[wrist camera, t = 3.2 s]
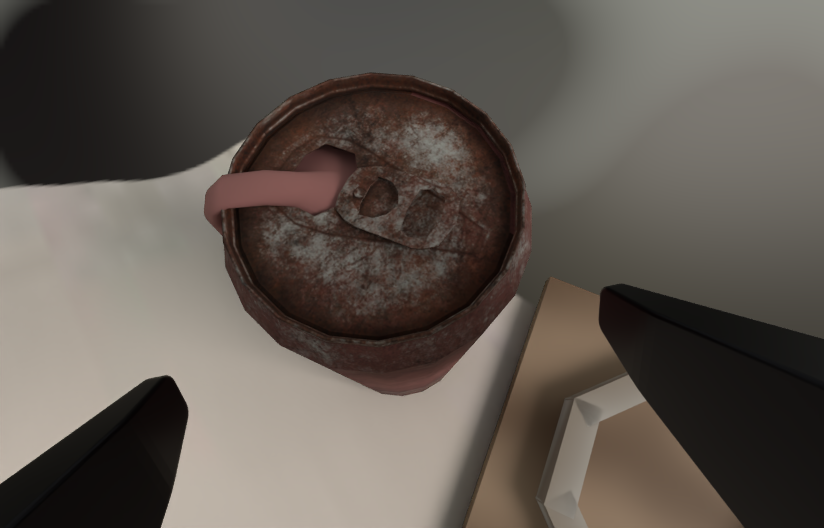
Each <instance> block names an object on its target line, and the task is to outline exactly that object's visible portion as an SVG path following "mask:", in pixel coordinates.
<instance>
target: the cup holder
mask: <svg viewBox="0 0 824 528" xmlns="http://www.w3.org/2000/svg"><path fill="white" fill-rule="evenodd" d="M599 303H600V296H599V295H597V294H594V293H592V292H589V291H587V290H584V289H581V288H579V287H576V286H574V285H571V284H568V283H566V282H563V281H561V280H559V279H556V278H553V277H550V278H549V279H548V280H547V281H546V282H545V285H544V288H543V291H542V294H541V297H540V300H539V303H538V306H537V309H536V312H535V315H534V317H533V320H532V323H531V326H530V329H529V332H528V335H527V338H526V341H525V344H524V347H523V350H522V353H521V356H520V359H519V361H518V364H517V367H516V370H515V373H514V376H513V379H512V382H511V385H510V388H509V391H508V394H507V397H506V400H505V403H504V406H503V408H502V411H501V414H500V417H499V420H498V423H497V426H496V429H495V432H494V435H493V438H492V441H491V444H490V447H489V450H488V453H487V455H486V458H485V461H484V464H483V467H482V470H481V473H480V476H479V479H478V482H477V485H476V488H475V491H474V494H473V497H472V500H471V502H470V505H469V508H468V511H467V514H466V517H465V520H464V523H463V526H462V528H744V527H743V525H742V524H741V523H740V522H739V520H738V519H737V518H736V516H735V515H734V514H733V512H732V511H731V510H730V509H729V507H728V506H727V505H726V503H725V502H724V501H723V499H722V498H721V497H720V496H719V494H718V493H717V492H716V490H715V489H714V488H713V487H712V485H711V484H710V483H709V481H708V480H707V479H706V477H705V476H704V475H703V474H702V472H701V471H700V470H699V468H698V467H697V466H696V464H695V463H694V462H693V461H692V459H691V458H690V457H689V455H688V454H687V453H686V452H685V450H684V449H683V448H682V446H681V445H680V444H679V442H678V441H677V440H676V439H675V437H674V436H673V435H672V433H671V432H670V431H669V429H668V428H667V427H666V426H665V424H664V423H663V422H662V420H661V419H660V418H659V417H658V415H657V414H656V413H655V411H654V410H653V409H652V407H651V406H650V405H649V404H648V402H647V401H646V400H645V398H644V397H643V396H642V394H641V393H640V392H639V390H638V389H637V387H636V386H635V384H634V383H633V381H632V380H631V378H630V376H629V375H628V373H627V372H626V370H625V368H624V367H623V365H622V363H621V362H620V360H619V359H618V357H617V355H616V354H615V352H614V350H613V349H612V347H611V346H610V344H609V342H608V341H607V339H606V337H605V336H604V334H603V333H602V331H601V329H600V326H599V321H598V317H599Z"/></svg>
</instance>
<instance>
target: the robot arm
mask: <svg viewBox="0 0 824 528" xmlns="http://www.w3.org/2000/svg"><path fill="white" fill-rule="evenodd" d="M598 321H599V326H600V329H601V331H602V333H603V334H604V336H605V337H606V339H607V341H608V342H609V344H610V346H611V347H612V349H613V350H614V352H615V354H616V355H617V357H618V359H619V360H620V362H621V363H622V365H623V367H624V368H625V370H626V372H627V373H628V375H629V376H630V378H631V380H632V381H633V383H634V384H635V386H636V387H637V389H638V390H639V392H640V393H641V394H642V396H643V397H644V398H645V400H646V401H647V402H648V404H649V405H650V406H651V407H652V409H653V410H654V411H655V413H656V414H657V415H658V417H659V418H660V419H661V420H662V422H663V423H664V424H665V426H666V427H667V428H668V429H669V431H670V432H671V433H672V435H673V436H674V437H675V439H676V440H677V441H678V442H679V444H680V445H681V446H682V448H683V449H684V450H685V452H686V453H687V454H688V455H689V457H690V458H691V459H692V461H693V462H694V463H695V464H696V466H697V467H698V468H699V470H700V471H701V472H702V474H703V475H704V476H705V477H706V479H707V480H708V481H709V483H710V484H711V485H712V487H713V488H714V489H715V490H716V492H717V493H718V494H719V496H720V497H721V498H722V499H723V501H724V502H725V503H726V505H727V506H728V507H729V509H730V510H731V511H732V512H733V514H734V515H735V516H736V518H737V519H738V520H739V522H740V523H741V524H742V525H743V527H744V528H824V339H822V338H818V337H814V336H811V335H807V334H804V333H800V332H797V331H793V330H789V329H786V328H782V327H778V326H775V325H771V324H767V323H764V322H760V321H756V320H753V319H749V318H746V317H742V316H738V315H735V314H731V313H728V312H724V311H720V310H716V309H713V308H709V307H706V306H702V305H698V304H695V303H691V302H688V301H684V300H680V299H677V298H673V297H669V296H666V295H662V294H659V293H655V292H651V291H648V290H644V289H640V288H637V287H633V286H630V285H625V284H616V285H611V286H606V287H604V288H603V289H602V290H601V293H600V303H599V317H598ZM187 421H188V407H187V404H186V402H185V400H184V398H183V396H182V394H181V392H180V390H179V388H178V386H177V385H176V383H175V381H174V379H173V378H172V377H170V376H167V375H165V376H160V377H155V378H150V379H147V380H145V381H143V382H142V383H140V384H139V385H138V386H136V387H135V388H133V389H132V390H131V391H129V392H128V393H127V394H125V395H124V396H122V397H121V398H120V399H118V400H117V401H115V402H114V403H113V404H111V405H110V406H108V407H107V408H106V409H104V410H103V411H101V412H100V413H99V414H97V415H96V416H94V417H93V418H92V419H90V420H89V421H87V422H86V423H85V424H83V425H82V426H81V427H79V428H78V429H76V430H75V431H74V432H72V433H71V434H69V435H68V436H67V437H65V438H64V439H62V440H61V441H60V442H58V443H57V444H55V445H54V446H53V447H51V448H50V449H48V450H47V451H46V452H44V453H43V454H41V455H40V456H39V457H37V458H36V459H35V460H33V461H32V462H30V463H29V464H28V465H26V466H25V467H23V468H22V469H21V470H19V471H18V472H16V473H15V474H14V475H12V476H11V477H9V478H8V479H7V480H5V481H4V482H2V483H1V484H0V528H161V525H162V522H163V519H164V516H165V513H166V510H167V507H168V503H169V500H170V497H171V493H172V490H173V486H174V482H175V477H176V473H177V468H178V463H179V458H180V454H181V449H182V444H183V439H184V435H185V430H186V425H187Z"/></svg>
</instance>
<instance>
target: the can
mask: <svg viewBox="0 0 824 528" xmlns="http://www.w3.org/2000/svg"><path fill="white" fill-rule="evenodd" d="M525 187H526V186H525V182H524V179H523V176H522V173H521V170H520V167H519V164H518V162H517V159H516V156H515V153H514V150H513V147H512V145H511V144H510V142H509V141H508V140H507V138H506V137H505V136H504V135H503V133H502V132H501V131H500V130H499V128H498V127H497V126H496V125H495V123H494V122H493V121H492V119H491V118H490V117H489V116H488V114H487V113H486V112H484V111H483V110H481V109H480V108H478V107H477V106H476V105H474V104H473V103H471V102H470V101H468V100H467V99H466V98H464V97H463V96H461V95H460V94H458V93H457V92H455V91H454V90H452V89H450V88H447V87H444V86H441V85H438V84H435V83H432V82H430V81H426V80H424V79H421V78H418V77H415V76H409V75H396V74H383V73H365V74H359V75H353V76H347V77H341V78H335V79H329V80H327V81H325V82H322V83H320V84H318V85H316V86H313V87H311V88H309V89H307V90H304V91H302V92H300V93H298V94H295V95H293V96H291V97H289V98H288V99H287V100H286V101H284V102H283V103H282V104H280V105H279V106H278V107H277V108H275V109H274V110H273V111H272V112H270V113H269V114H268V115H267V116H266V117H264V118H263V119H262V120H261V121H259V122H258V123H257V124H256V126H255V127H254V128H253V130H252V131H251V133H250V134H249V135H248V137H247V138H246V140H245V141H244V143H243V144H242V146H241V147H240V148H239V150H238V151H237V153H236V154H235V156H234V157H233V159H232V162H231V165H230V169H229V172H228V174H226V175H222V176H221V177H220V178H219V179H218V180H217V181H216V182H215V183H214V184H213V185H212V186H211V187H210V188H209V189H208V190H207V192H206V195H205V206H204V215H205V217H206V219H207V220H208V221H209V222H210V223H211V224H212V225H213V227H214V228H215V229H216V230H217V231H218V232H219V233H220V234H221V235H222V236H223V244H224V251H225V267H226V269H227V271H228V274H229V276H230V278H231V280H232V283H233V285H234V287H235V289H236V291H237V294H238V296H239V298H240V300H241V303H242V305H243V307H244V309H245V311H246V312H247V313H248V314H249V315H250V316H251V317H252V318H253V319H254V320H255V321H256V322H257V323H258V324H259V325H260V326H261V327H262V328H263V329H264V330H265V331H266V332H267V333H268V334H269V335H270V336H271V337H272V338H273V339H274V340H275V341H276V342H277V343H278V344H279V345H281V346H283V347H285V348H287V349H289V350H291V351H293V352H295V353H297V354H299V355H302V356H304V357H306V358H308V359H310V360H312V361H314V362H316V363H318V364H320V365H322V366H324V367H327V368H329V369H331V370H333V371H335V372H337V373H339V374H341V375H343V376H345V377H347V378H350V379H352V380H354V381H356V382H358V383H360V384H362V385H364V386H366V387H368V388H371V389H373V390H375V391H377V392H379V393H381V394H389V395H399V396H404V395H408V394H413V393H417V392H422V391H424V390H426V389H427V388H429V387H430V386H432V385H434V384H435V383H437V382H439V381H440V380H441V379H442V378H443V377H444V376H445V375H446V374H447V373H448V371H449V370H450V369H451V368H452V367H453V366H454V365H455V364H456V363H457V362H458V360H459V359H460V358H461V357H462V356H463V355H464V354H465V353H466V352H467V350H468V349H469V348H470V347H471V346H472V345H473V344H474V343H475V342H476V341H477V339H478V338H479V337H480V336H481V335H482V334H483V333H484V332H485V330H486V329H487V328H488V327H489V326H490V324H491V323H492V322H493V321H494V320H495V318H496V317H497V316H498V315H499V314H500V313H501V311H502V310H503V309H504V308H505V307H506V305H507V304H508V303H509V302H510V301H511V299H512V298H513V297H514V296H515V294H516V291H517V288H518V286H519V283H520V280H521V277H522V275H523V272H524V269H525V267H526V264H527V261H528V259H529V256H530V253H531V221H532V220H531V219H532V216H531V215H532V208H531V207H532V206H531V203H530V201H529V198H528V195H527V192H526V189H525Z"/></svg>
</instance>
